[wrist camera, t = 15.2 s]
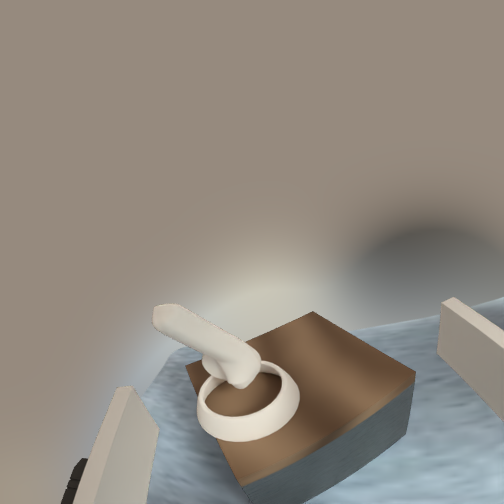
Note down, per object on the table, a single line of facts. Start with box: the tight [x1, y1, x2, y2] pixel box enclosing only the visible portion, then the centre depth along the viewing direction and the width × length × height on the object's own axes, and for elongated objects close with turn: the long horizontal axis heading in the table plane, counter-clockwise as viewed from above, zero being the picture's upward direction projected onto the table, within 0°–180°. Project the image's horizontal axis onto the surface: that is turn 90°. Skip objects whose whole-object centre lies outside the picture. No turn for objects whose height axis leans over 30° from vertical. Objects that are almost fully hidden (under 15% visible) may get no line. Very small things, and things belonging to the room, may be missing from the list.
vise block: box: [186, 311, 416, 504], centre depth 23 cm, size 14×14×8 cm
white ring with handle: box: [152, 303, 300, 442], centre depth 17 cm, size 8×12×7 cm
